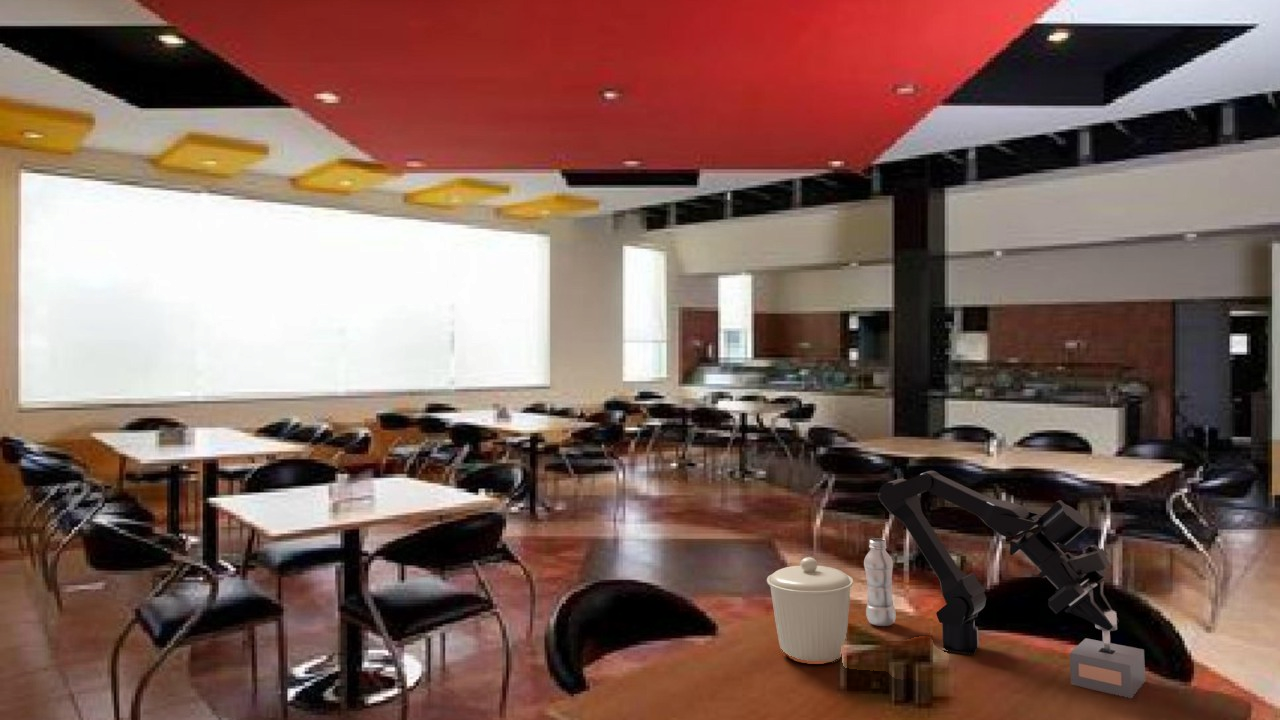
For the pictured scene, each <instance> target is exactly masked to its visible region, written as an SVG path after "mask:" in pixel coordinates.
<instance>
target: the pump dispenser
mask: <svg viewBox="0 0 1280 720" xmlns="http://www.w3.org/2000/svg"><path fill="white" fill-rule="evenodd" d="M1110 650H1111V654H1107V653H1103V640H1096V639H1091V638H1086V637H1085V638H1084V639H1083V640H1082V641H1081V642H1079V644H1078V645H1077V646H1075V647H1074V648H1073V649H1072V650H1071V651H1070V652H1069V665H1070V666H1069V667H1070V684H1071V685H1072V686H1076V687H1081V688H1084V689H1089V690H1094V691H1098V692H1102V693H1106V694H1109V695H1114V694H1115V696H1118V695H1119V697H1122V696H1124V697H1123V698H1127V697H1128V698H1127V699H1131V698H1132V699H1133V697H1134V696H1135V695H1136V693H1137V692H1138V691H1139V690H1140V689H1141V687H1142V686H1143V685H1144V683H1145V682H1146V670H1145V666H1146V665H1145V649H1143V648H1137V647H1133V646H1129V645H1128V646H1127V645H1123V644H1117V643H1112V642H1110ZM1142 684H1143V685H1142ZM1138 689H1139V690H1138ZM1134 694H1135V695H1134Z"/></svg>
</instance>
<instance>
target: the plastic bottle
mask: <svg viewBox="0 0 1280 720" xmlns="http://www.w3.org/2000/svg"><path fill="white" fill-rule="evenodd" d="M868 546H869V548H870V550H869V551H868V552H867V554H866V555H865V557H864V560H863V567H864V570H865V571H864V572H865V575H866V576H865V578H866V584H867V603H866V610H865V615H866V618H867V619H866V620H867V621H868V622H869V623H870V624H871V625H873V626H877V627H879V626H880V627H888V626H892V625H893V624H894V623H895V621H896V615H897V614H896V613H897V612H896V608H895V605H894V599H893V591H892V577H893V568H894V567H893V566H894V561H893V559H892V557H891V556H890V554H889V553H888V552H887V550H886V549H888V548H887V540H886V539H884V538H870V539H869V545H868Z"/></svg>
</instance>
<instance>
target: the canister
mask: <svg viewBox="0 0 1280 720" xmlns="http://www.w3.org/2000/svg"><path fill="white" fill-rule="evenodd" d="M766 583H767V585H768V586H769V587H770V593H771V600H772V606H773V612H774V613H773V615H774V621H775V628H776V632H777V639H778V644H779V647H780V650H781V649H782V650H783V652H785V653H786V654H788V655H789V656H792V657H795V658H797V659H801V660H806V661H832V660H835V659H838V658H839V657H840V652H841V646H842V644H843V643H844V641H845V639H846V640H847V637H846V633H847V634H848V626H849V611H850V600H851V599H850V597H851V596H850V595H851V588H852V586H853V585H854V579H853V578H852V576H850V575H848V574H846V573H845V572H843V571H842V570H840V569H837V568H834V567H829V566H823V565H818V561H817V560H816V559H815V558H814V557H809V556H808V557H804V558H803V559H801V561H800V565H792V566H786V567H782V568H780V569H777V570H776V571H775V572H773V573H771V574H770V575H768V576H767V578H766ZM782 650H781V651H782ZM783 652H782V653H783ZM839 659H840V658H839ZM839 659H838V660H839Z"/></svg>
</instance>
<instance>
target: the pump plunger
mask: <svg viewBox="0 0 1280 720" xmlns="http://www.w3.org/2000/svg"><path fill="white" fill-rule="evenodd" d="M1100 610H1101V611H1102V612H1103V614H1104V615H1105V616H1106V617H1107V619H1108V620H1109V621H1110V623H1111V624H1112V626H1113V628H1112V629H1110V630H1107V629H1104V628H1102V627H1100V626H1098V625H1096V624H1094V627H1095V628H1096V629H1098V630H1100V631H1102V641H1103V653H1107V654H1111V650H1110V643H1111V634H1110V633H1111V632H1114V631H1117V630H1118V623H1117V619H1118V617H1117V611H1115V610H1113V609H1112V610H1113V611H1112V610H1108V609H1100Z"/></svg>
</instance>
